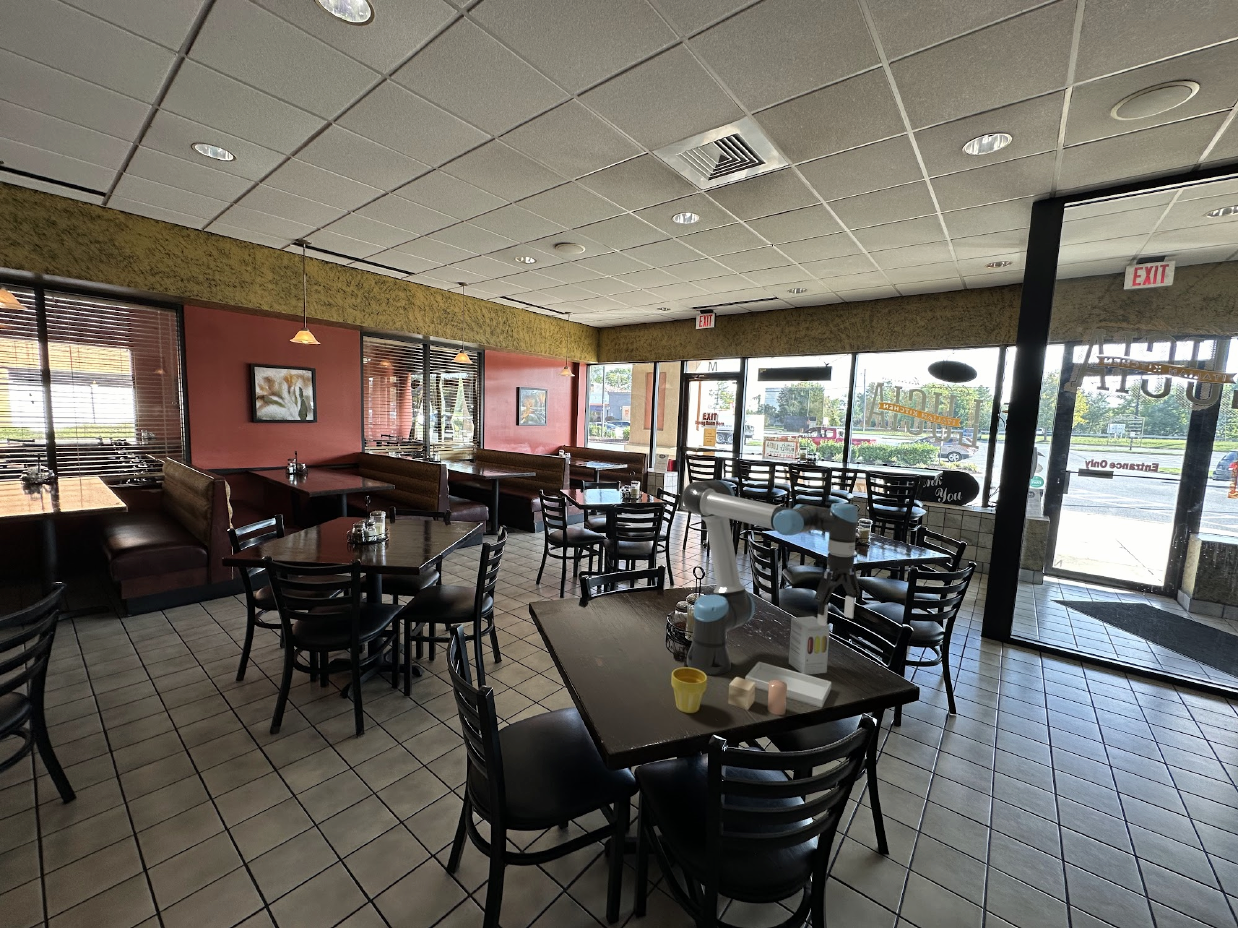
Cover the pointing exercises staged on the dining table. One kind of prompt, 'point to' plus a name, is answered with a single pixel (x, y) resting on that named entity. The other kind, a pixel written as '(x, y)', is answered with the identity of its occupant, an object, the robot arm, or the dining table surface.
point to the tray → (791, 683)
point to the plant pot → (688, 688)
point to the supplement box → (809, 645)
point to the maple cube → (741, 693)
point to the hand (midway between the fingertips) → (835, 620)
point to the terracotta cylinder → (777, 697)
